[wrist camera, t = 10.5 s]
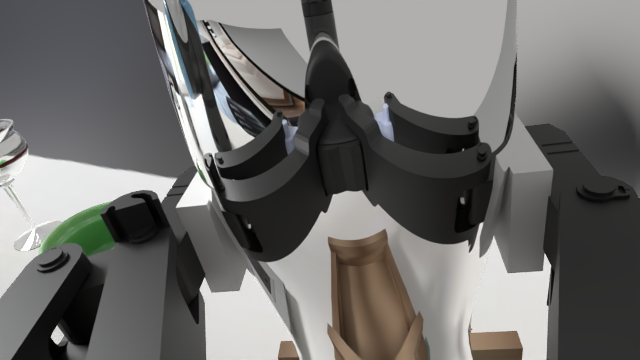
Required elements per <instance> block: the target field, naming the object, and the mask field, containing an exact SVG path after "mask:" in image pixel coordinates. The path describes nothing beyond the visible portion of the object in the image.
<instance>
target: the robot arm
mask: <svg viewBox="0 0 640 360" xmlns="http://www.w3.org/2000/svg"><path fill="white" fill-rule="evenodd" d="M100 215H101V217H102V219H103V221H104V223H105V225H106V226H107V228H108V230H109V232H110V234H111V236H112V238H113V239H114V241H115V244H114V248H113V249H110V250H107V251H104V252H100V253H97V254H94V255H90V256H87V255H86V254H85V252H84V250H83V249H82V247H81V246H80V245H78V244H76V243H66V244H62V245H57V246H54V247H51V249H50V248H49V249H47V250H45V251H43V252H42V253H41V254H40V255H38V256H37V257H35V258H34V259H33V260H32V261H31V262H30V263H29V264H28V265H27V266H26V267H25V268H24V270H23V271H22V272H21V273H20V275H19V276H18V277H17V278H16V280H15V281H14V282H13V283H12V284H11V286H10V287H9V288H8V289H7V291H6V292H5V293H4V294H3V296H2V297H1V298H0V360H206V337H205V303H204V300H203V297H202V294H201V292H200V290H199V289H200V286H201V284H202V282H203V279H204V277H205V278H206V281H207V283H208V285H209V288H210V290H211V292H227V291H239V290H240V287H241V284H242V281H243V278H244V275H245V271H246V268H247V267H246V265H245V264H244V262H243V261H242V259H241V257H240V256H239V254H238V252H237V251H236V249H235V247H234V245H233V243H232V241H231V240H230V238H229V236H228V234H227V232H226V230H225V228H224V227H223V225H222V223H221V221H220V219H219V217H218V215H217V214H216V212H215V210H214V208H213V206H212V204H211V202H210V199H209V197H208V195H207V192H206V190H205V187H204V185H203V183H202V180H201V178H200V175H199V173H198V171H197V168H196V166H194V167H190V168H189V169H188V170H187V171H185V172H184V173H183V174H181V175H180V176H179V177H178V179H177V180H176V182H175V183H174V185H173V186H172V189H170V191H169V192H168V194H167V197H165V198H164V200H163V201H162V203H160V200H159V198H158V196H157V194H156V193H155V192H153V191H147V190H141V191H136V192H131V193H129V194H126V195H123V196H121V197H119V198H117V199H116V200H114V201H112V202H111V203H110V204H108V205H107V206H106V207H105V208H104V209H103V211H102V212H101V214H100ZM494 237H495V240H496V243H497V245H498V248H499V251H500V253H501V256H502V259H503V262H504V264H505V267H506V270H507V272H508V273H517V272H533V271H543V262H544V253H545V254H546V256H547V258H548V260H549V262H550V264H551V274H550V282H549V290H548V299H547V305H548V306H549V310H548V336H547V360H640V198H638V196H637V194H636V192H635V191H634V189H633V188H632V187H631V186H629V185H628V184H626V183H625V182H623V181H620V180H617V179H615V178H612V177H607V176H601V175H600V174H599V173H598V172H597V171H596V169H595V168H594V167H593V166H592V165H591V163H590V162H589V161H588V160H587V159H586V157H585V156H584V155H583V154H582V152H579V149H578V148H577V146H576V145H575V144H574V143H572V140H571V139H570V138H569V137H568V135H567V134H566V133H565V132H564V131H562V130H560V129H558V128H556V127H554V126H552V125H550V124H542V125H534V126H524V125H523V124H522V122H521V121H520V120H519V118H518V116H517V115H516V113H515V114H514V125H513V136H512V147H511V157H510V163H509V168H508V173H507V178H506V183H505V188H504V193H503V198H502V203H501V208H500V213H499V217H498V221H497V225H496V228H495V232H494ZM56 326H58V327H59V328H60V330H61V331H62V333H63V334H64V337H63V339H62V340H61V342H60V343H59V344H58V345H57V344H55V343H54V341H53V340H52V339H51V335H52V332H53V331H54V329H55V328H56Z"/></svg>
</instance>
